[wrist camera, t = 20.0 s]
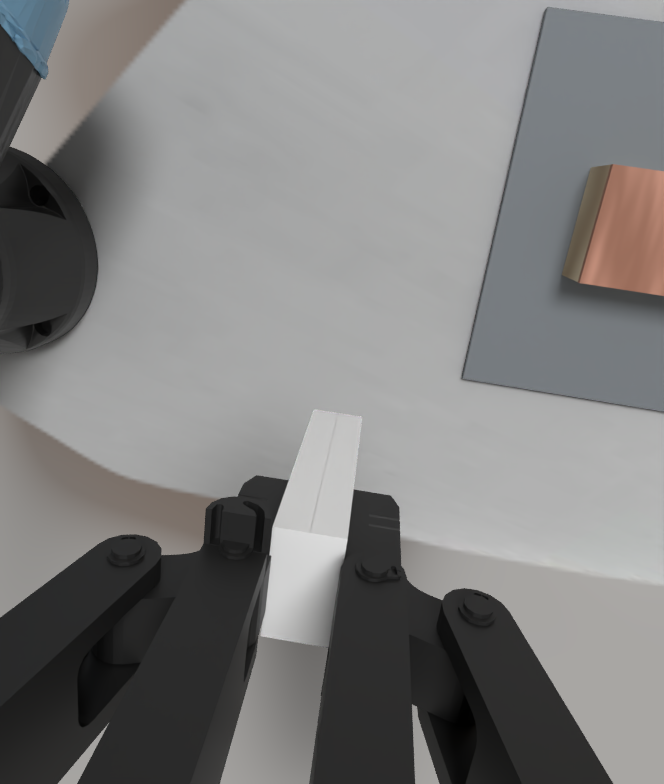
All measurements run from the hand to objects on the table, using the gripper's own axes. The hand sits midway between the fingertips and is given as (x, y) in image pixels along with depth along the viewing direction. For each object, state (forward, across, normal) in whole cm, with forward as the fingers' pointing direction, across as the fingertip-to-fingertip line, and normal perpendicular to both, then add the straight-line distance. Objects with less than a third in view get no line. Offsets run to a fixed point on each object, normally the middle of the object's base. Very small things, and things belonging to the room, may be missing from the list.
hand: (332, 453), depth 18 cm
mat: (+26, -17, -8) cm, 32 cm away
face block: (+24, -13, -8) cm, 28 cm away
